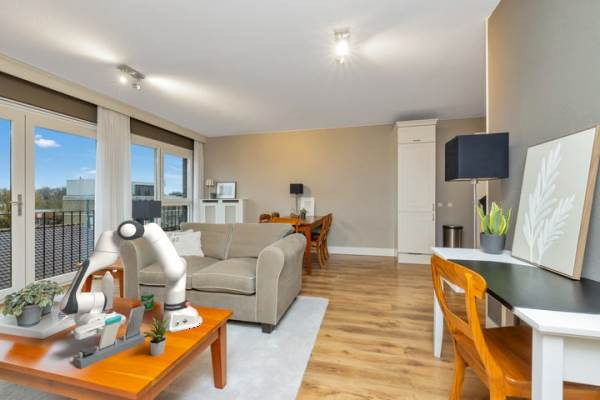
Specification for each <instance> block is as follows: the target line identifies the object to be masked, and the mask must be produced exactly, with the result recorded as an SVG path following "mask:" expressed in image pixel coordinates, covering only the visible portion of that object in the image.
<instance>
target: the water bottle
mask: <svg viewBox="0 0 600 400" xmlns="http://www.w3.org/2000/svg"><path fill="white" fill-rule="evenodd" d="M117 271H118V269H113V270H112V272H113V273H116V272H117ZM114 281H115V279H114V276H113V275H112V274H111V272H110V271H108V270H107V271H105V274H104V275H103V276H102V278H101V290H100V291H102V292H103V293H104V294H105V295H106V297H107V305H106V308H105V310H104V311H109V310H111V309H113V307H114V301H113V300H114Z"/></svg>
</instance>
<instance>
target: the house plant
mask: <svg viewBox="0 0 600 400" xmlns="http://www.w3.org/2000/svg"><path fill="white" fill-rule="evenodd" d="M168 317H169V316H168ZM168 317H167V318H166V319H164V320H163V319H162V321H161V319H159V320H158V319H156V318H154V317H152V320H153V322H151V324H152V325H150V324H147V323H142V325H144V326H147V327H149V328H150V331H149V332H148V331H141V332H139V333H141V334H143V335H145V336H144V338H145V339H146V338H151V339H150V340H149V346H150V353H151V356H152V357H158V356H161V355H163V354H164V351H165V346H166V342H167V337H166V336H164V335H165V334H167V333H169V332H170V333H173V332H172V331H167V330H165V329H167V327H165V325H166V324H167V322H168V320H169V319H168ZM167 319H168V320H167ZM163 321H164V322H163ZM166 321H167V322H166ZM165 322H166V324H165ZM169 322H170V321H169ZM162 323H163V324H162ZM164 324H165V325H164ZM167 325H168V324H167ZM161 326H162V328H161ZM168 326H169V325H168ZM164 327H165V328H164ZM144 338H143V339H144Z"/></svg>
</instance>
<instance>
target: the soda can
mask: <svg viewBox="0 0 600 400" xmlns="http://www.w3.org/2000/svg"><path fill="white" fill-rule="evenodd" d="M154 303H155V292H154V291H153V290H144V291H142V292H141V294H140V306H143V305H144V306H145V310H144V312H149V311H151V310H153V309H154V307H155V306H154Z"/></svg>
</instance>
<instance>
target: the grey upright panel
mask: <svg viewBox="0 0 600 400" xmlns="http://www.w3.org/2000/svg"><path fill="white" fill-rule="evenodd" d="M144 310H145V306H144V305H143V306H141V305H139V306H137V307H134V308H131V309H130V313H129V318H128V321H127V326H126V329H125V330H126V331H125V334H124V335H125V336H126V339H127V338H129V337H132V336H134V335H137V334H139V330H140V329H141V325H142V323H143V317H144V313H145V311H144Z"/></svg>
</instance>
